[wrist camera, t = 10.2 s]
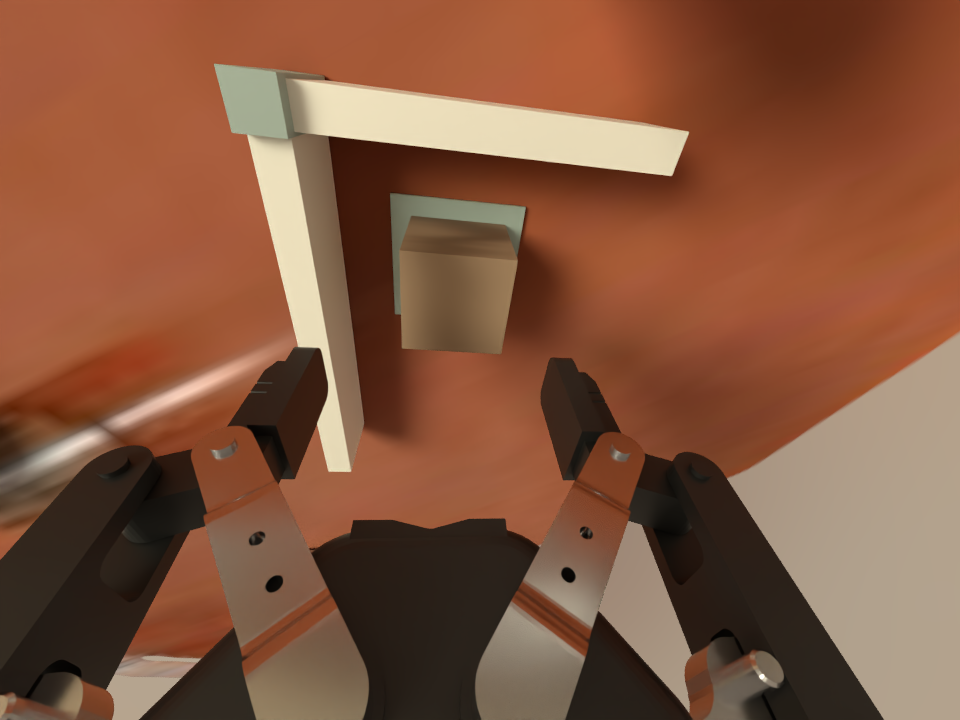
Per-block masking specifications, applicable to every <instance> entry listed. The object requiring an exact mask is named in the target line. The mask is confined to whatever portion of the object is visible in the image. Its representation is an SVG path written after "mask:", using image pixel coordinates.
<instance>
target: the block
mask: <svg viewBox="0 0 960 720" xmlns="http://www.w3.org/2000/svg"><path fill="white" fill-rule="evenodd" d="M399 256H400V293H401V331H402V349H419V350H437V351H454V352H472V353H489V354H501V352H502V346H503V341H504V335H505V330H506V324H507V319H508V313H509V307H510V302H511V296H512V291H513V285H514V280H515V274H516V269H517V263H518V259H517V257H516V254H515V251H514V248H513V245H512V243H511V240H510V237H509V234H508V231H507V228H506V226H505V225H503V224H492V223H482V222H472V221H462V220H451V219H441V218H431V217H421V216H411V218H410V221H409V224H408V227H407V230H406V233H405V235H404V238H403V241H402V244H401V247H400V250H399Z"/></svg>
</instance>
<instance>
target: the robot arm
mask: <svg viewBox="0 0 960 720" xmlns="http://www.w3.org/2000/svg"><path fill="white" fill-rule="evenodd" d="M327 396H328V380H327V375H326V370H325V366H324V361H323V356H322V352H321V349H320V348H312V347H295V348H293V350H292V351H291V353H290V355H289V356H288V358H287V360H286V361H277V362H276V363H274V364H273V365H272V366H270V367H269V368H267V369H266V370H265V371H264V372H263V374H262V375H261V377H260V378H259V380H258V381H257V384H255V386H254V387H253V389H252V390H251V393H249V395H248V396H247V398H246V399H245V401H244V402H243V404H242V405H241V407H240V408H239V410H238V411H237V413H236V414H235V416H234V417H233V419H232V420H231V422H230V423H229V425H228V426H227V427H224V428H221V429H217V430H215V431H213V432H211V433H209V434H207V435H206V436H204V437H203V438H202V439H200V440H199V441H198V442H197V443H196V444H195V446H194V447H193V449H190V450H187V451H182V452H177V453H173V454H168V455H164V456H159V457H154V455H153V454H152V452H151V451H150V450H149V449H148V448H146V447H143V446H126V447H121V448H117V449H114V450H111V451H109V452H107V453H104V454H102V455H100V456H99V457H97V458H95V459H94V460H92V461H91V462H89V463H88V464H87V465H86V466H85V467H84V468H83V469H82V470H81V471H80V472H79V473H78V474H77V475H76V476H75V477H74V479H73V480H72V481H71V482H70V483H69V484H68V485H67V486H66V487H65V489H64V490H63V491H62V492H61V493H60V494H59V495H58V496H57V497H56V499H55V500H54V501H53V502H52V503H51V504H50V505H49V506H48V508H47V509H46V510H45V511H44V512H43V513H42V514H41V515H40V516H39V518H38V519H37V520H36V521H35V522H34V523H33V524H32V525H31V526H30V528H29V529H28V530H27V531H26V532H25V533H24V534H23V535H22V536H21V538H20V539H19V540H18V541H17V542H16V543H15V544H14V545H13V547H12V548H11V549H10V550H9V551H8V552H7V553H6V554H5V555H4V557H3V558H2V559H1V560H0V720H112V717H113V713H114V703H113V698H112V696H111V694H110V693H109V692H108V691H106V689H107V687H108V685H109V683H110V681H111V679H112V677H113V676H114V674H115V672H116V670H117V668H118V666H119V664H120V662H121V660H122V659H123V657H124V655H125V653H126V651H127V649H128V647H129V645H130V643H131V642H132V640H133V638H134V636H135V634H136V632H137V630H138V628H139V626H140V624H141V623H142V621H143V619H144V617H145V615H146V613H147V611H148V609H149V607H150V605H151V604H152V602H153V600H154V598H155V596H156V594H157V592H158V590H159V588H160V587H161V585H162V583H163V581H164V579H165V577H166V575H167V573H168V571H169V569H170V568H171V566H172V564H173V562H174V560H175V558H176V556H177V554H178V552H179V550H180V549H181V547H182V545H183V543H184V541H185V539H186V537H187V535H188V533H189V532H190V530H194V529H197V528H201V527H204V526H206V529H207V533H208V536H209V540H210V543H211V547H212V550H213V554H214V557H215V561H216V564H217V568H218V572H219V575H220V579H221V582H222V586H223V589H224V593H225V596H226V600H227V603H228V607H229V610H230V614H231V617H232V621H233V624H234V628H233V629H231V630H230V631H229V632H228V633H227V634H226V635H225V636H224V637H223V638H222V639H221V640H220V641H219V642H218V643H217V644H216V645H215V646H214V647H213V648H212V649H211V650H210V651H209V652H208V653H207V654H206V655H205V656H204V657H203V658H202V659H201V660H200V661H199V662H198V663H197V664H196V665H195V666H194V667H193V668H191V669H190V670H189V671H188V672H187V673H186V674H185V675H184V676H183V677H182V678H181V679H180V680H179V681H178V682H177V683H176V684H175V685H174V686H173V687H172V688H171V689H170V690H169V691H168V692H167V693H166V694H165V695H164V696H163V697H162V698H161V699H160V700H159V701H158V702H157V703H156V704H155V705H154V706H152V707H151V708H150V709H149V710H148V711H147V713H145V714H144V715H143V716H142V717H141V718H140V719H139V720H884V719H883V718H882V716H881V714H880V713H879V711H878V710H877V708H876V707H875V706H874V704H873V702H872V701H871V699H870V698H869V696H868V694H867V693H866V691H865V690H864V688H863V687H862V685H861V684H860V682H859V681H858V679H857V678H856V676H855V675H854V673H853V671H852V670H851V668H850V667H849V665H848V664H847V662H846V661H845V659H844V658H843V656H842V655H841V653H840V652H839V650H838V648H837V647H836V645H835V644H834V642H833V641H832V639H831V638H830V636H829V635H828V633H827V632H826V630H825V629H824V627H823V625H822V624H821V622H820V621H819V619H818V618H817V616H816V615H815V613H814V612H813V610H812V609H811V608H810V606H809V604H808V602H807V601H806V599H805V598H804V597H803V595H802V593H801V592H800V590H799V589H798V587H797V586H796V584H795V583H794V581H793V580H792V578H791V576H790V575H789V573H788V572H787V570H786V569H785V567H784V566H783V564H782V563H781V561H780V560H779V558H778V557H777V555H776V554H775V552H774V550H773V549H772V547H771V546H770V544H769V543H768V541H767V540H766V538H765V537H764V535H763V534H762V532H761V530H760V529H759V527H758V526H757V524H756V523H755V521H754V520H753V518H752V517H751V515H750V514H749V512H748V511H747V509H746V507H745V506H744V504H743V503H742V501H741V500H740V498H739V497H738V495H737V494H736V492H735V491H734V489H733V488H732V486H731V485H730V483H729V481H728V480H727V478H726V477H725V475H724V474H723V472H722V471H721V470H720V468H719V467H718V466H717V465H715V464H714V463H713V462H712V461H710V460H709V459H707V458H705V457H703V456H701V455H699V454H696V453H692V452H682V453H679V454H678V455H676V457H675V458H674V460H673V461H669V460H665V459H662V458H658V457H655V456H651V455H648V454H645V453H644V451H643V449H642V448H641V446H640V445H639V444H638V443H637V442H636V441H635V440H633V439H632V438H630V437H628V436H626V435H624V434H621V432H620V430H619V428H618V426H617V424H616V422H615V420H614V418H613V416H612V414H611V412H610V410H609V408H608V406H607V404H606V403H605V400H604V398H603V396H602V394H601V392H600V390H599V388H598V386H597V384H596V382H595V381H594V380H593V379H592V378H591V377H590V376H589V375H588V374H586V373H585V372H578V369H577V367H576V365H575V363H574V361H573V359H571V358H550V360H549V362H548V366H547V370H546V374H545V378H544V381H543V385H542V389H541V406H542V409H543V413H544V416H545V420H546V423H547V427H548V430H549V433H550V437H551V440H552V444H553V447H554V451H555V454H556V457H557V461H558V464H559V468H560V471H561V475H562V478H563V480H575V482H574V484H573V485H572V487H571V489H570V491H569V493H568V495H567V497H566V499H565V501H564V503H563V504H562V506H561V508H560V510H559V512H558V514H557V516H556V518H555V520H554V522H553V524H552V526H551V527H550V529H549V531H548V533H547V535H546V537H545V539H544V541H543V543H542V545H541V547H539V546H538V545H536V544H535V543H533V542H532V541H531V540H529V539H527V538H525V537H524V536H522V535H519V534H517V533H514V532H512V531H508V530H507V529H506V521H505V519H467V520H464V521H460V522H456V523H452V524H449V525H445V526H441V527H438V528H434V529H427V528H423V527H419V526H415V525H411V524H407V523H403V522H399V521H395V520H353V525H352V529H351V533H348V534H344V535H342V536H339V537H337V538H334V539H332V540H330V541H328V542H326V543H325V544H323V545H322V546H320V547H318V548H317V549H315V550H309V548H308V546H307V544H306V542H305V540H304V537H303V535H302V533H301V531H300V529H299V527H298V525H297V523H296V521H295V519H294V517H293V514H292V512H291V510H290V508H289V506H288V504H287V502H286V500H285V498H284V496H283V494H282V491H281V489H280V487H279V482H280V480H281V479H295V477H296V474H297V472H298V470H299V467H300V465H301V462H302V460H303V457H304V455H305V452H306V450H307V447H308V445H309V442H310V440H311V437H312V435H313V432H314V430H315V427H316V425H317V422H318V420H319V417H320V415H321V412H322V410H323V407H324V405H325V402H326V400H327ZM628 521H631V522H634V523H638V524H641V525H642V527H643V529H644V532H645V534H646V537H647V540H648V542H649V545H650V547H651V550H652V552H653V555H654V558H655V560H656V563H657V566H658V568H659V571H660V573H661V576H662V578H663V581H664V584H665V586H666V589H667V592H668V594H669V597H670V599H671V602H672V605H673V607H674V610H675V612H676V615H677V617H678V620H679V623H680V625H681V628H682V631H683V633H684V636H685V638H686V641H687V644H688V646H689V649H690V651H691V654H692V656H691V657H690V658H689V659H688V661H687V663H686V666H685V682H686V686H687V690H688V697H689V701H690V713H689V712H688V711H687V710H686V708H685V707H684V706H683V704H682V703H681V702H680V700H679V699H678V698H677V697H676V696H675V695H674V694H673V692H672V691H671V690H670V689H669V688H668V687H667V686H666V685H665V684H664V682H662V680H661V679H660V678H659V677H658V676H657V675H656V674H655V673H654V671H653V670H652V669H651V668H650V667H649V666H648V665H647V664H646V663H645V662H644V660H643V659H642V658H641V657H640V656H639V655H638V654H637V653H636V652H635V651H634V649H633V648H632V647H631V646H630V645H629V644H628V643H627V642H626V641H625V640H624V638H623V637H622V636H621V635H620V634H619V633H618V632H617V631H616V630H615V628H614V627H613V626H612V625H611V624H610V623H609V622H608V621H607V620H606V619H605V617H604V616H603V615H602V614H601V613H600V612H599V611H598V610H599V607H600V604H601V601H602V598H603V595H604V591H605V589H606V586H607V583H608V580H609V577H610V573H611V571H612V568H613V565H614V561H615V558H616V555H617V552H618V550H619V547H620V543H621V540H622V538H623V534H624V531H625V528H626V526H627V523H628Z"/></svg>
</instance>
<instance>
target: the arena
mask: <svg viewBox="0 0 960 720" xmlns="http://www.w3.org/2000/svg"><path fill="white" fill-rule="evenodd" d="M214 66H215V70H216V74H217V78H218V81H219V85H220V89H221V93H222V97H223V100H224V104H225V108H226V112H227V116H228V119H229V123H230V127H231V131H232V133H239V134H247V136H248V140H249V144H250V148H251V152H252V156H253V161H254V165H255V169H256V173H257V177H258V181H259V185H260V190H261V194H262V198H263V202H264V206H265V210H266V214H267V219H268V223H269V227H270V231H271V235H272V239H273V243H274V248H275V252H276V256H277V260H278V264H279V268H280V272H281V276H282V281H283V285H284V289H285V293H286V297H287V301H288V305H289V310H290V314H291V318H292V322H293V326H294V330H295V334H296V339H297V343H298V347H312V348H320V349H321V352H322V356H323V361H324V366H325V370H326V375H327V380H328V396H327V400H326V402H325V405H324V407H323V410H322V412H321V415H320V417H319V420H318V422H317V425H318V430H319V434H320V438H321V442H322V446H323V450H324V454H325V459H326V463H327V467H328V471H336V472H351V470H352V467H353V463H354V459H355V456H356V452H357V448H358V445H359V441H360V437H361V434H362V430H363V426H364V416H363V408H362V400H361V393H360V385H359V377H358V369H357V361H356V353H355V345H354V337H353V329H352V321H351V313H350V305H349V297H348V289H347V281H346V273H345V265H344V257H343V249H342V241H341V233H340V225H339V217H338V209H337V201H336V193H335V185H334V177H333V169H332V161H331V153H330V145H329V137H328V136H334V137H343V138H351V139H360V140H368V141H377V142H385V143H394V144H402V145H411V146H419V147H428V148H437V149H445V150H454V151H462V152H471V153H479V154H488V155H496V156H505V157H513V158H522V159H530V160H539V161H547V162H556V163H564V164H573V165H581V166H590V167H599V168H607V169H616V170H624V171H633V172H641V173H650V174H658V175H667V176H672V175H673V172H674V170H675V167H676V164H677V162H678V159H679V157H680V154H681V152H682V149H683V147H684V144H685V142H686V139H687V136H688V134H689V132H687V131H682V130H677V129H672V128H667V127H662V126H657V125H652V124H647V123H642V122H635V121H628V120H620V119H613V118H605V117H598V116H590V115H583V114H575V113H568V112H560V111H553V110H545V109H538V108H530V107H523V106H515V105H508V104H500V103H493V102H485V101H478V100H470V99H463V98H455V97H448V96H440V95H433V94H425V93H418V92H410V91H403V90H395V89H388V88H380V87H373V86H365V85H358V84H350V83H343V82H335V81H328V80H325V77H324V76H323V75H316V74H308V73H301V72H293V71H286V70H278V69H267V68H256V67H245V66H234V65H223V64H214ZM390 203H391V228H392V253H393V278H394V303H395V314H401V293H400V256H399V250H400V247H401V244H402V241H403V238H404V235H405V233H406V230H407V227H408V224H409V221H410V218H411V216H421V217H431V218H441V219H451V220H462V221H472V222H482V223H492V224H503V225H505V226H506V228H507V231H508V234H509V237H510V240H511V243H512V245H513V248H514V251H515V254H516V257H517V255H518V249H519V243H520V238H521V232H522V226H523V221H524V215H525V209H526V207H525V206H517V205H507V204H497V203H487V202H478V201H468V200H458V199H448V198H439V197H429V196H419V195H409V194H400V193H390Z"/></svg>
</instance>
